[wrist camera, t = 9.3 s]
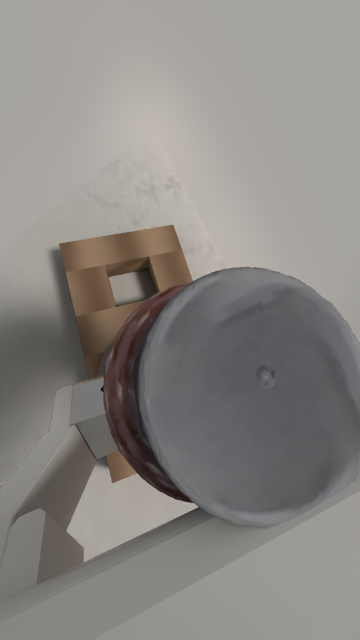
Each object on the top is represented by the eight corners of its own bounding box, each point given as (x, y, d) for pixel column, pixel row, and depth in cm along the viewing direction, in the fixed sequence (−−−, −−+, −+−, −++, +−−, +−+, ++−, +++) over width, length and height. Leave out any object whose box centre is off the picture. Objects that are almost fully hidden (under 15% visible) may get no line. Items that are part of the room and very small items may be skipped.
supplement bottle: (105, 377, 14) (-44, 362, 3) (176, 315, 15) (249, 160, 5) (172, 454, 13) (294, 791, 2) (238, 381, 15) (487, 381, 4)
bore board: (116, 470, 22) (111, 485, 19) (68, 258, 27) (57, 240, 24) (232, 423, 25) (246, 429, 22) (170, 239, 30) (173, 222, 27)
